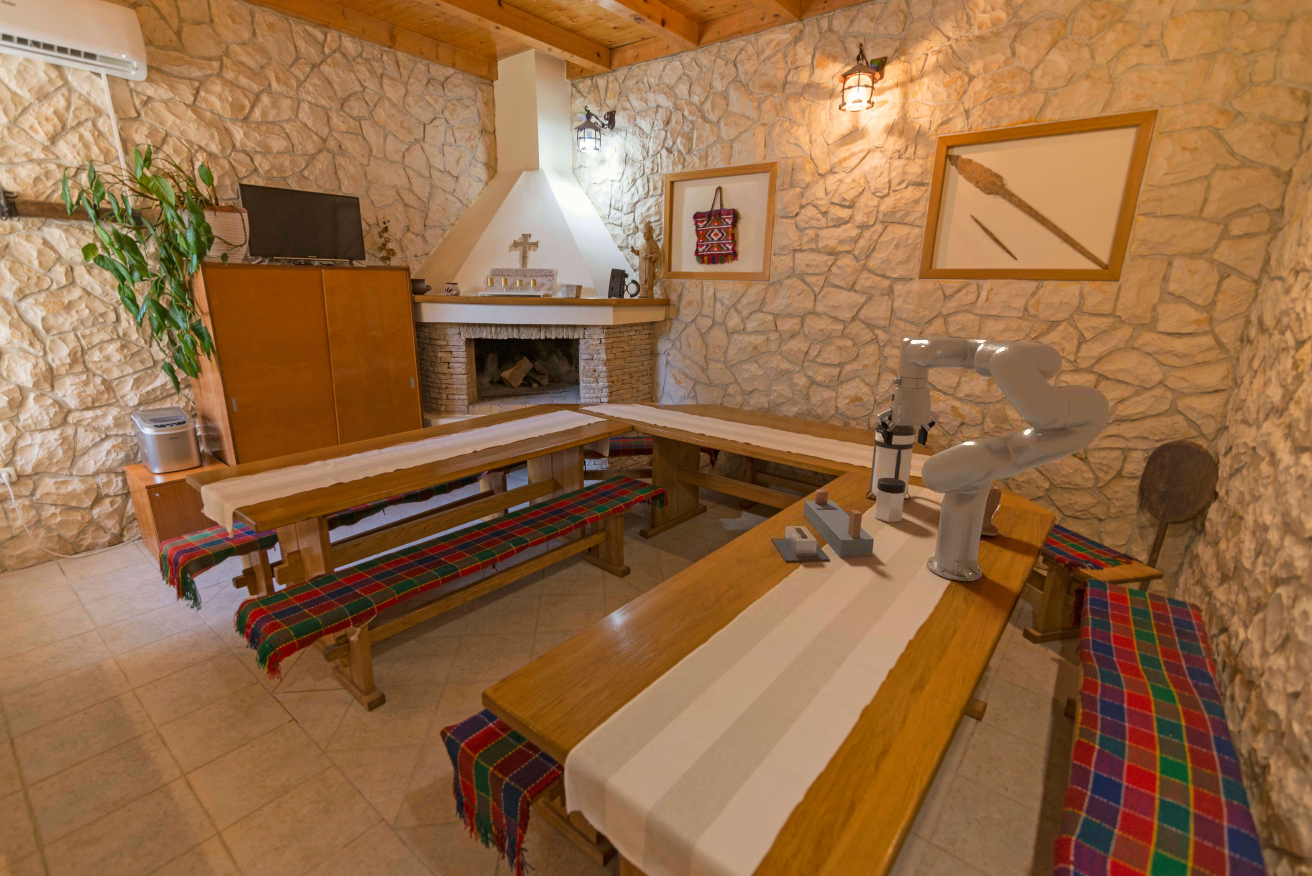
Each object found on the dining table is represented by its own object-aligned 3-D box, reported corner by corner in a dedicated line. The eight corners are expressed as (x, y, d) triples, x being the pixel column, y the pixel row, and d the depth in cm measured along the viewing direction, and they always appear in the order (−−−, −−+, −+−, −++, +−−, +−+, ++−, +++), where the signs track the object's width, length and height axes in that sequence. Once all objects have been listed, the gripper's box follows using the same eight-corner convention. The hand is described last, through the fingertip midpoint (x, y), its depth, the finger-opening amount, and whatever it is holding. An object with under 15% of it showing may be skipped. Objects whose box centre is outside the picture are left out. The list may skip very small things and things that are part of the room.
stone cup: (997, 528, 172) (1005, 481, 168) (997, 542, 162) (1005, 492, 158) (942, 518, 179) (948, 473, 176) (939, 531, 170) (945, 483, 166)
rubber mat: (829, 560, 150) (829, 559, 150) (785, 562, 149) (785, 560, 149) (811, 539, 163) (811, 537, 163) (771, 540, 162) (771, 538, 162)
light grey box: (815, 556, 151) (817, 539, 150) (795, 556, 151) (796, 540, 150) (803, 540, 161) (804, 524, 160) (784, 541, 161) (785, 525, 159)
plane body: (872, 556, 153) (876, 514, 150) (839, 557, 152) (843, 515, 149) (830, 514, 182) (833, 479, 179) (803, 515, 181) (806, 479, 178)
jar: (907, 518, 179) (912, 482, 176) (894, 524, 174) (898, 487, 171) (881, 510, 186) (885, 475, 183) (867, 516, 181) (871, 480, 178)
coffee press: (919, 507, 189) (930, 419, 181) (869, 504, 191) (878, 417, 184) (905, 490, 205) (915, 409, 198) (860, 488, 208) (867, 407, 200)
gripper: (887, 385, 149) (880, 448, 153) (950, 385, 150) (942, 447, 154) (874, 381, 156) (868, 441, 160) (934, 381, 157) (927, 440, 161)
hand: (904, 444), depth 157 cm, fingers open, 9 cm apart
